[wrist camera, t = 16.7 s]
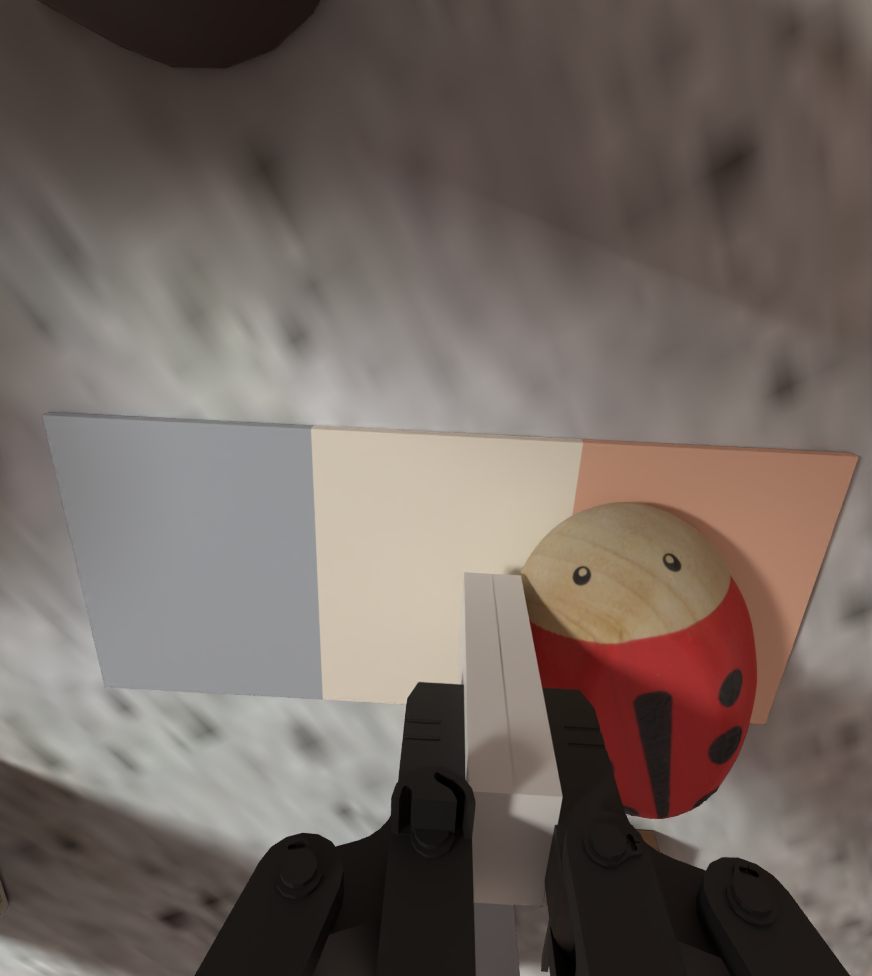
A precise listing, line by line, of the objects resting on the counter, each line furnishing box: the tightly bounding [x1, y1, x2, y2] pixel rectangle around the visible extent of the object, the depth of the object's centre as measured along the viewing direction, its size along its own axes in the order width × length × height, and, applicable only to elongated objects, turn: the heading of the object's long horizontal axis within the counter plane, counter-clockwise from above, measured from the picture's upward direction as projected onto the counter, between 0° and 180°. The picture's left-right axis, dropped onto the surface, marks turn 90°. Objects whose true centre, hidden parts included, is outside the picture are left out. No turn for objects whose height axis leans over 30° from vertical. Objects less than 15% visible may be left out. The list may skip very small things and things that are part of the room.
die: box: [474, 903, 520, 976], centre depth 21 cm, size 5×5×5 cm
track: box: [42, 412, 859, 725], centre depth 17 cm, size 21×9×1 cm, turn 88°
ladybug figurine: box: [519, 502, 757, 819], centre depth 16 cm, size 7×10×4 cm
